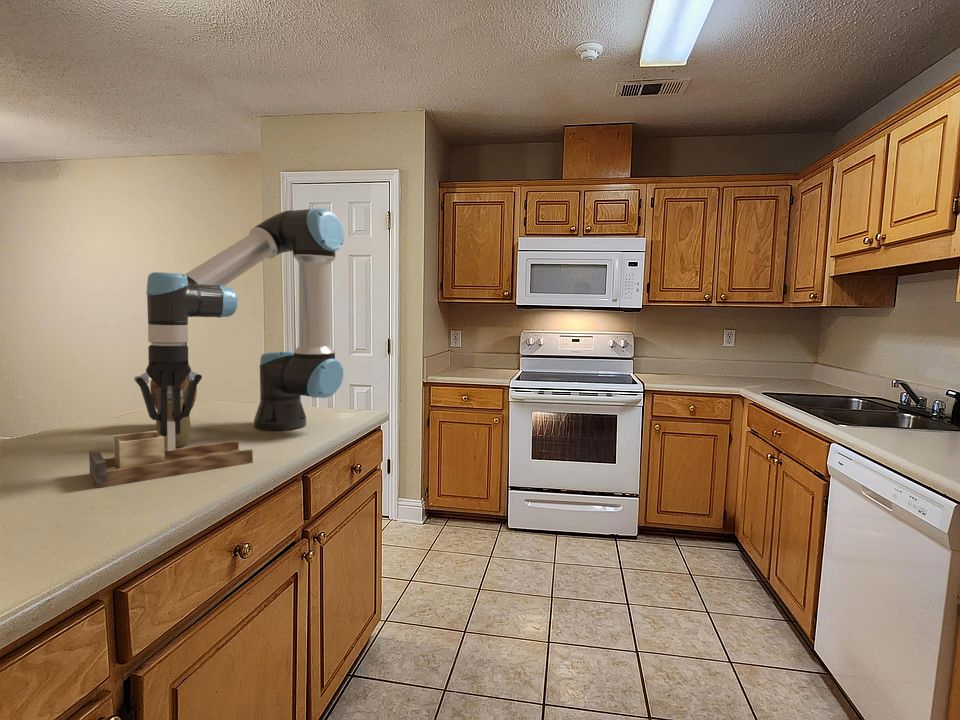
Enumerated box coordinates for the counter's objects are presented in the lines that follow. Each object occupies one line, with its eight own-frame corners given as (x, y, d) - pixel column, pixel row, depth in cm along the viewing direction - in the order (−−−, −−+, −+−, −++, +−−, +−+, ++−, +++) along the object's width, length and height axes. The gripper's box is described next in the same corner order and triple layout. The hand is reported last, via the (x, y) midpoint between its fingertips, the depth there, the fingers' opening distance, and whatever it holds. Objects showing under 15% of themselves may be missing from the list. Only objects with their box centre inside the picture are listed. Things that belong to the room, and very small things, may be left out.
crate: (157, 460, 118) (156, 430, 118) (164, 469, 113) (164, 437, 112) (114, 467, 113) (113, 435, 112) (120, 476, 108) (119, 442, 107)
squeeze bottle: (175, 451, 130) (173, 380, 129) (147, 448, 132) (145, 377, 130) (198, 443, 138) (197, 376, 136) (172, 440, 140) (171, 374, 138)
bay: (237, 452, 132) (237, 432, 131) (252, 462, 124) (252, 441, 123) (89, 473, 112) (89, 451, 111) (96, 488, 104) (96, 463, 103)
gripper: (196, 342, 121) (197, 441, 124) (129, 343, 113) (132, 450, 115) (205, 344, 116) (206, 448, 118) (136, 345, 107) (139, 458, 109)
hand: (170, 449), depth 117 cm, fingers closed
